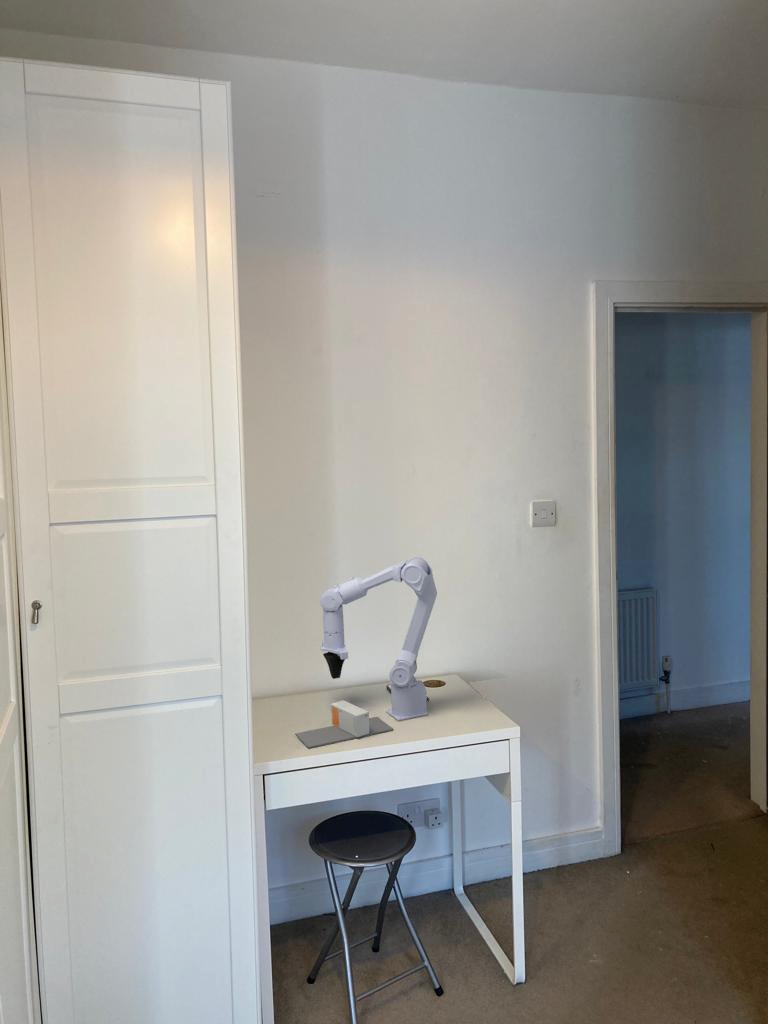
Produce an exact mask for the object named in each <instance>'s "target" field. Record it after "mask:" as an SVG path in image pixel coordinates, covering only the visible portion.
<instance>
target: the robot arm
mask: <svg viewBox="0 0 768 1024" xmlns="http://www.w3.org/2000/svg"><path fill="white" fill-rule="evenodd" d="M391 581H395V582H398V583H402V582H404V583H405V584H406V585H407V586H408V587H410V588H411V589H412V590H413V591H414V593H415V595H416V596H417V601H416V603H415V607H414V610H413V613H412V617H411V619H410V622H409V626H408V629H407V631H406V635H405V638H404V641H403V644H402V648H401V650H400V653H399V655H398V657H397V659H396V661H395V663H394V665H393V666H392V667H391V669H390V671H389V674H388V675H389V679H390V684H391V694H390V697H391V698H390V699H391V708H390V709H386V710H385V712H386V713H387V714H389V715H390V716H391V717H392V718H394V719H395V720H397V721H398V722H399V721H404V720H409V719H413V718H417V717H418V718H419V717H423V716H427V715H429V712H428V710H427V703H428V702H426V696H427V689H426V685H425V684H424V682H423V681H422V680H417V679H416V677H415V676H414V675H415V674H416V672H417V670H418V663H417V659H418V655H419V650H420V647H421V645H422V641H423V638H424V635H425V632H426V629H427V626H428V623H429V620H430V617H431V615H432V614H431V613H432V611H433V608H434V605H435V602H436V600H437V595H438V590H437V588H436V587H437V586H436V583H435V579H434V575H433V569H432V567H431V566H430V565H429V563H428V561H427V560H426V559H424V558H422V557H419V556H417V557H412V558H410V559H409V560H403V561H400V562H398V563H395V564H392V565H391V566H388V567H386V568H384V569H382V570H380V571H378V572H375V573H374V574H372V575H369V576H368V577H366V578H362V577H360V576H357V577H354V576H351V577H349V578H348V581H345V582H343V583H341V584H338V583H337V584H335V585H333V587H331V588H329V589H327V590H326V591H325V592H324V593H322V594H321V596H320V598H319V604H320V607H321V608H322V613H323V614H322V623H323V640H321V647H320V651H321V652H324V653H323V654H322V655H323V657H324V659H325V661H326V664H327V666H328V670H329V674H330V677H331V679H333V680H335V679H340V678H341V674H342V669H343V665H344V664H345V663H344V662H345V660H347V659H349V651H347V647H346V645H345V626H344V625H345V623H344V611H343V610H344V608H343V607H344V606H343V605H347V604H351V603H353V602H354V601H357V600H359V599H362V598H364V597H366V596H367V593H368V591H369V590H371V589H373V588H375V587H378V586H381V585H384V584H386V583H388V582H391Z"/></svg>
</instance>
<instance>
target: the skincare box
mask: <svg viewBox="0 0 768 1024" xmlns="http://www.w3.org/2000/svg"><path fill="white" fill-rule="evenodd" d="M330 709H331V710H330V712H331V713H330V714H331V726H336V727H338V728H340V729H342V730H344V731H346V732H348V733H350V734H352V735H354V736H355V737H360V736H363V735H366V734H369V718H370V713H369V711H368V710H365V709H363V708H362V707H360V706H356V705H354V704H352V703H350V702H349V701H345V700H344V699H343V700H339V701H336V702H333V703H330Z"/></svg>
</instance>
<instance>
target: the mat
mask: <svg viewBox="0 0 768 1024" xmlns="http://www.w3.org/2000/svg"><path fill="white" fill-rule="evenodd" d="M393 731H394V728H393V727H392V726H390V725H389V724H388V723H386V722H385V721H384V720H382V719H381V718H379V717H378V716H374V717H369V734H366V735H363V736H360V737H355V736H354V735H352V734H350V733H348V732H346V731H344V730H342V729H340V728H338V727H336V726H334V725H329V726H325V727H324V726H323V727H319V728H315V729H311V730H306V731H301V732H296V733H294V736H295V735H296V736H297V737H298V738H299V739H298V738H297V737H296V736H295V737H296V738H297V739H298V741H299V742H300V743H302V744H303V745H304V747H305V748H307V750H310V749H317V748H320V747H323V746H329V745H334V744H338V743H344V742H349V741H352V740H356V739H360V738H361V739H362V738H366V737H370V736H376V735H379V733H380V734H385V733H389V732H393ZM375 734H376V735H375Z"/></svg>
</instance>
